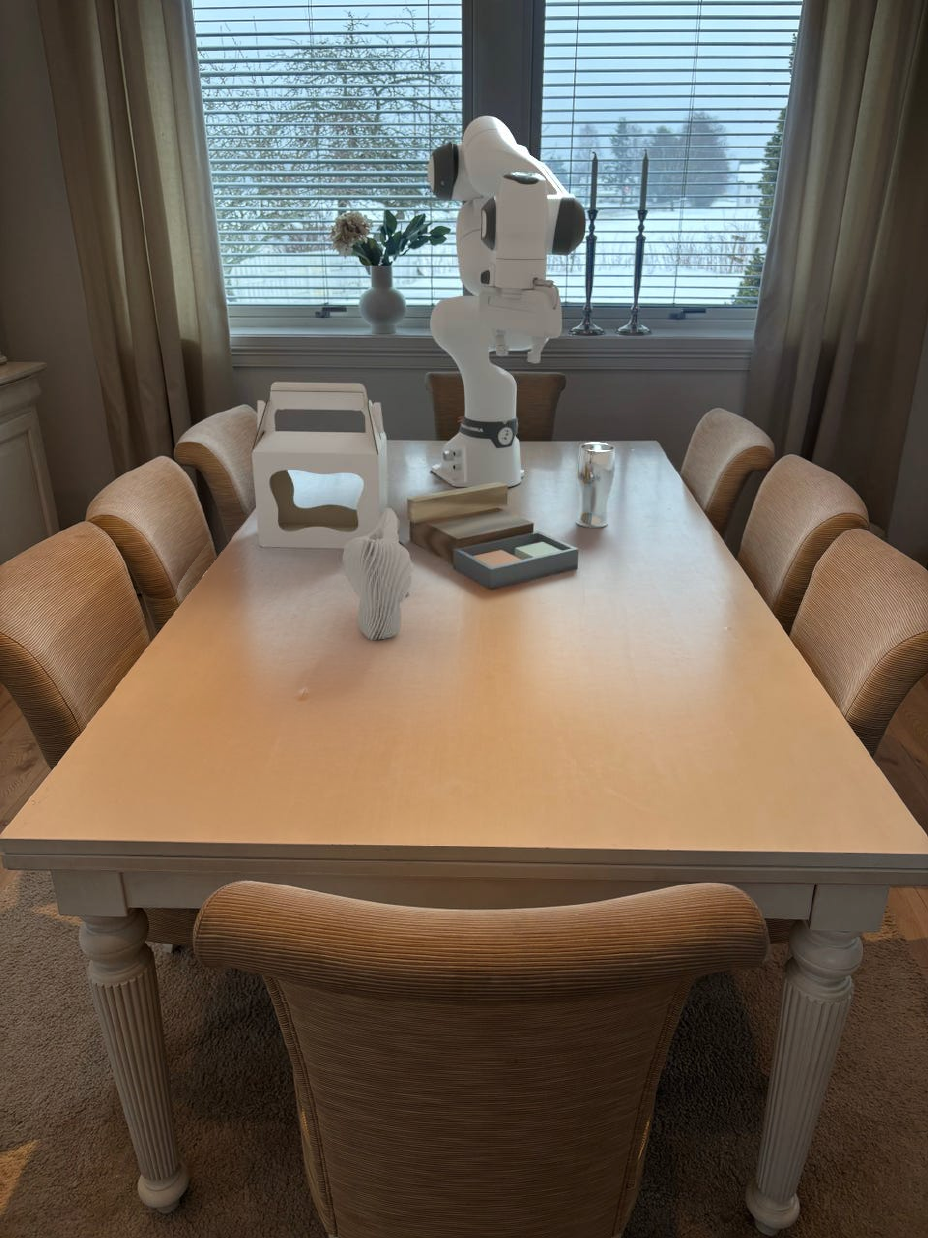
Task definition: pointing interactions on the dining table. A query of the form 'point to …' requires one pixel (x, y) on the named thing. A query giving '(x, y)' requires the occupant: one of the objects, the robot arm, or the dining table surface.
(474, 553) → the box
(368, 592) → the shell sculpture
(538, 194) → the robot arm
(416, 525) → the dark wooden square block
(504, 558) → the terracotta tile
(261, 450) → the gable box
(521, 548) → the sage tile
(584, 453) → the beer glass
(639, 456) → the dining table surface
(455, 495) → the bar
